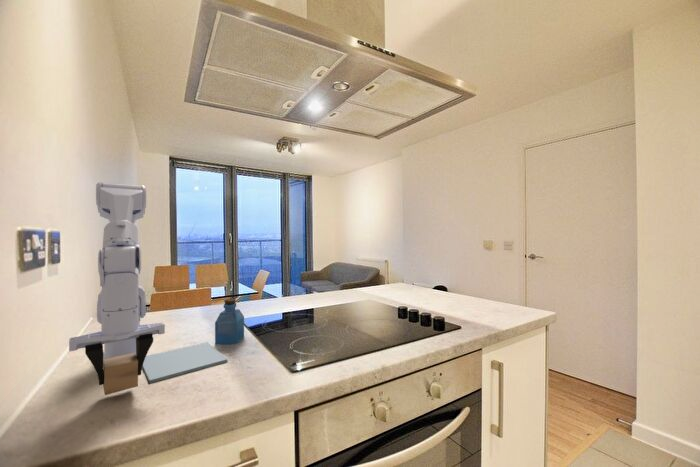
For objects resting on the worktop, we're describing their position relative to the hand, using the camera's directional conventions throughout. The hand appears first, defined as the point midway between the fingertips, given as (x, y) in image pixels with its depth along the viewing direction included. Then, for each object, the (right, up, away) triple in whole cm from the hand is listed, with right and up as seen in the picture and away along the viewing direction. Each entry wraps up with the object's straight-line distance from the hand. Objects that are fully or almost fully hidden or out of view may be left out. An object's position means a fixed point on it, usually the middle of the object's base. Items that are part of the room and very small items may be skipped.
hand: (120, 378), depth 58 cm
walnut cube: (0, -2, 0) cm, 2 cm away
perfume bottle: (+9, -4, +31) cm, 32 cm away
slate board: (+3, -3, +16) cm, 17 cm away
